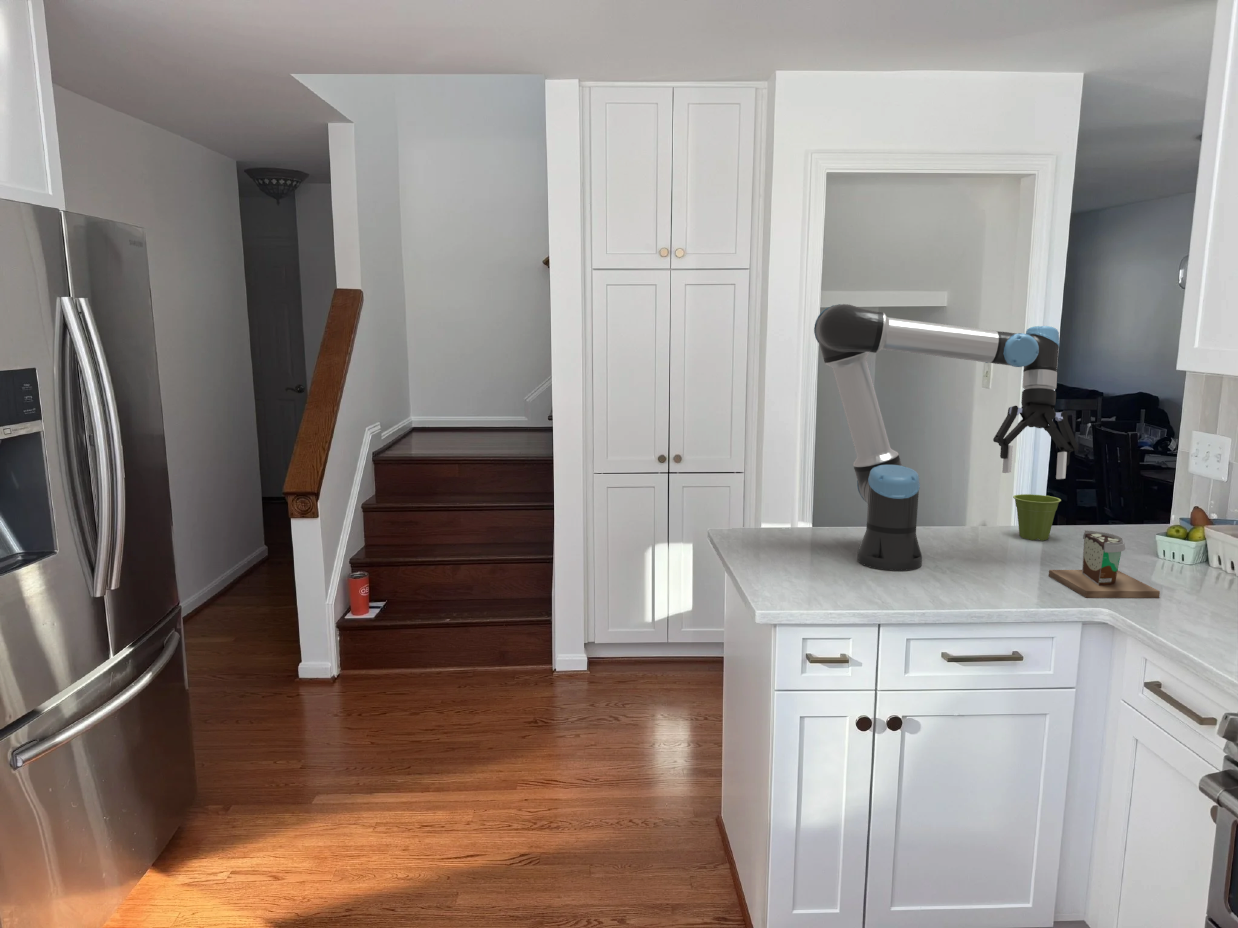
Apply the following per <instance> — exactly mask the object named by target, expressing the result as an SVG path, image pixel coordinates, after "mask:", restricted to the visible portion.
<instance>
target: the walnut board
mask: <svg viewBox="0 0 1238 928" xmlns="http://www.w3.org/2000/svg"><path fill="white" fill-rule="evenodd" d="M1048 577H1049V578H1051V579H1053V580H1055V581H1056V582H1059V583H1060V584H1062V585H1063V586H1065V587H1066V588H1068V589H1070V590H1072V591H1074V592H1075V593H1077V594H1078V595H1080V596H1082V597H1084V599H1085V598H1087V599H1088V598H1089V599H1092V598H1093V599H1097V598H1098V599H1099V598H1100V599H1101V598H1102V599H1103V598H1104V599H1108V598H1109V599H1114V598H1115V599H1117V598H1118V599H1127V598H1128V599H1133V598H1134V599H1137V598H1138V599H1159V598H1160V595H1161V591H1160V590H1158V589H1156V588H1154V587H1153V586H1151V585H1148V584H1146V583H1144V582H1142V581H1140V580H1138V579H1136V578H1134V577H1132V576H1130V575H1128V574H1126V573H1124V572H1122V571H1120V570H1118V571H1117V577H1116V582H1115V584H1113V585H1107V586H1098V585H1097V584H1096V583H1094V582H1093V581H1092V580H1090V579H1089V578H1088V577H1086V576H1085V575H1084V574H1082V569H1048Z"/></svg>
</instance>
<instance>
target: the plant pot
mask: <svg viewBox="0 0 1238 928" xmlns="http://www.w3.org/2000/svg"><path fill="white" fill-rule="evenodd" d="M1012 497H1013V499H1014V500H1015V501H1014V502H1015V507H1016V513H1017V521H1018V533H1019V537H1021V539H1022V538H1023V539H1025V540H1029V541H1036V540H1039V541H1046V540H1049V538H1050V533H1051V530H1052V526H1053V522H1054V518H1055V515H1056V511H1057V510H1058V506H1059V503H1060V502H1062V499H1061V498H1059V497H1055V496H1050V495H1045V494H1044V495H1042V494H1032V493H1031V494H1030V493H1025V494H1023V493H1022V494H1015V495H1013V496H1012Z"/></svg>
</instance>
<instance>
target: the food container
mask: <svg viewBox="0 0 1238 928" xmlns="http://www.w3.org/2000/svg"><path fill="white" fill-rule="evenodd" d="M1082 539H1083V552H1082V569H1081V570H1082V574H1084V575H1085V576H1086V577H1088V578H1089V579H1090V580H1092V581H1093V582H1094V583H1096V584H1097V585H1098V586H1107V585H1113V584H1115V582H1116V577H1117V571H1119V565H1120V560H1121V556H1122V552H1123V551H1125V550H1126V544H1125V541H1124V538H1123V537H1122V536H1119V535H1116V534H1113V533H1109V532H1103V531H1097V530H1088V529H1087V530H1084V532H1083V536H1082Z"/></svg>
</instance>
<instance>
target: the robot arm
mask: <svg viewBox="0 0 1238 928" xmlns="http://www.w3.org/2000/svg"><path fill="white" fill-rule="evenodd" d="M813 332H814V333H813V334H814V336H815V337H814V338H815V339H816V342H817V343H818V344H819V348H820V352H821V354H822V358H823V362H824V364H825V365H826V366H828V367H830V368H832V372H833V375H834V378H835V381H836V382H835V383H836V386H837V389H838V392H839V396H840V401H841V403H842V407H843V410H844V414H845V419H846V421H847V424H848V430H849V432H850V435H851V440H852V444H853V446H854V447H853V448H854V450H855V455H856V458H855V460H854V462H853V465H852V466H853V470H854V472H855V473H854V474H855V477H856V484H857V485H856V487H857V491H858V493H859V495H860V497H861V499H862V500H863V501H864V502H866V504H867V513H866V530H865V532H864V534H863V538H862V539H861V542H860V545H859V547H858V550H857V562H858V563H859V564H862V565H863V566H866V567H869V568H874V569H878V570H884V571H886V570H887V571H898V572H899V571H900V572H901V571H902V572H903V571H913V570H916V569H919V568H921V567H922V561H923V555H922V552H921V547H920V544H919V540H918V537H917V521H918V508H919V507H918V505H919V493H920V492H919V491H920V487H921V484H920V476H919V473H918V472H917V471H916V470H914V469H913V468H910V467H907V466H903V465H902V462H901V458H900V455H899V452H898V451H897V450H894V449H893V448H891V444H890V441H889V437H888V434H887V430H886V426H885V423H884V418H883V415H882V412H881V409H880V404H879V401H878V396H877V393H876V390H875V386H874V382H873V380H872V376H871V370H870V369H869V364H868V361H867V358H868V356H869V354H870V353H873V354H878V353H879V352H880V351H882V350H885V351H893V352H900V353H908V354H916V355H917V354H918V355H925V356H933V357H941V358H950V359H955V360H957V359H958V360H964V361H973V362H979V363H985V364H995V365H1003V366H1011V367H1015V368H1023V370H1022V371H1023V372H1022V373H1023V376H1022V377H1023V378H1022V389H1023V390H1022V391H1021V401H1020V402H1021V407H1019V406H1018V405H1013V406H1010V407H1009V406H1008V410H1007V414H1006V417H1005V418H1004V420H1003V422H1002V424H1001V426H999V428H998V430H997V432H996V434H995V435H994V436H993V439H992V440H993V442H994V443H997V444H998V445H999V447H1000V455H999V456H1000V459H1002V472H1001V473H1003V474H1009V473H1012V461H1013V448H1014V446H1013V445H1012V444H1011V443H1012V442H1013V441H1014V439H1016V438H1017V437H1018V436H1019V435H1020V434H1021V433H1022V432H1023V431H1024V430H1025V429H1026V428H1027V427H1028V428H1036V429H1043V430H1044V431H1045V432H1047V434H1048V435H1049V437H1051V440H1052V441H1053V442H1054V444H1055V445H1056V446H1057V448H1058V450H1059V452H1057V458H1056V475H1055V478H1056V479H1055V480H1064V479H1066V474H1067V466H1069V465H1070V461H1071V458H1070V457H1071V452H1074V451H1078V450H1079V445H1078V443H1077V440H1076V437H1075V435H1074V433H1073V430H1072V428H1071V426H1070V423H1069V420H1068V419H1069V418H1068V411H1060V412H1059V411H1058V412H1056V411H1055V407H1056V401H1057V400H1056V398H1057V392H1056V391H1055V390H1056V389H1057V387H1058V386H1057V385H1058V384H1057V382H1058V381H1057V380H1058V362H1059V352H1060V350H1059V349H1060V332H1059V331H1058V329H1057V328H1055V327H1054V326H1048V325H1041V326H1040V325H1038V326H1032V327H1029V328H1027V329H1026V331H1025V333H1022V332H1021V333H1020V332H1018V333H1015V332H1008V331H998V330H993V329H992V330H991V329H984V328H977V327H968V326H961V325H960V326H959V325H952V324H945V323H944V324H942V323H937V322H936V323H935V322H928V321H921V320H920V321H919V320H910V319H904V318H903V319H902V318H898V317H897V318H895V317H888V316H887V315H886V313H885V312H882V311H875V310H870V309H866V308H861V307H859V306H855V305H852V304H846V303H843V304H841V303H840V304H839V303H838V304H835V305H834V304H832V305H830V306H828V307H826V308H825V309H823V310H822V311H821V313H819V315H817V318H816V319H815V322H814V329H813ZM1019 415H1020V417H1021V420H1020V421H1019V422H1018V423H1017V425H1015V427H1014V428H1012V429H1011V431H1010V432H1009V433H1008V431H1009V430H1010V428H1011V427H1012V425H1013V423H1014V422H1015V420H1016V418H1017V417H1018V416H1019ZM1054 419H1055V421H1057V424H1056V423H1055V421H1054ZM1057 425H1058V427H1057ZM1058 428H1059V429H1058ZM1059 430H1060V431H1059Z"/></svg>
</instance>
